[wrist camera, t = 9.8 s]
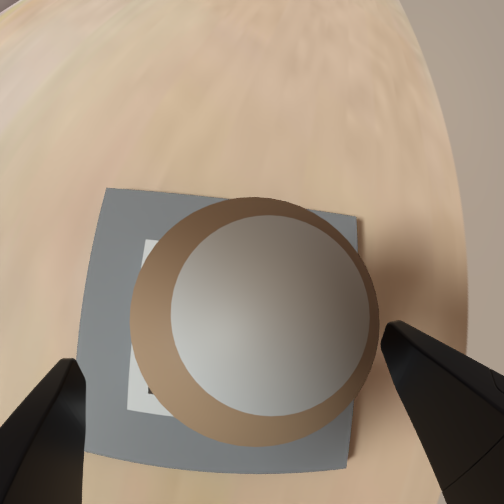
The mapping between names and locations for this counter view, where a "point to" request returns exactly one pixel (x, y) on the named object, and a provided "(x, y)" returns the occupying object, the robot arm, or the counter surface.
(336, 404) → the mill
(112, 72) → the counter surface
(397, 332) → the robot arm
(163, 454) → the grey square frame plate
